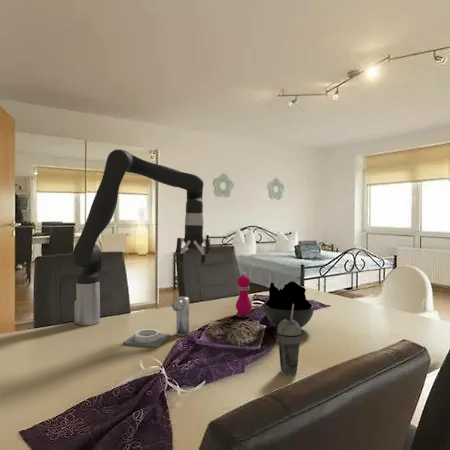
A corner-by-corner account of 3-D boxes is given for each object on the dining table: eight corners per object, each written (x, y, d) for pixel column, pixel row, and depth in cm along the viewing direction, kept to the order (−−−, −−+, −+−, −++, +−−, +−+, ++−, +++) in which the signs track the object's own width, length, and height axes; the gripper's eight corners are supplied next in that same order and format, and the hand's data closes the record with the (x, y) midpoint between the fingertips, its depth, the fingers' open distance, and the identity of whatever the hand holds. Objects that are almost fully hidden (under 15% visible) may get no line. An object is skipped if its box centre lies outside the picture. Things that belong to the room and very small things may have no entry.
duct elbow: (170, 339, 135) (170, 301, 135) (178, 331, 144) (178, 295, 143) (183, 340, 134) (183, 301, 134) (191, 332, 143) (191, 296, 142)
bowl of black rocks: (318, 325, 152) (318, 280, 151) (307, 340, 134) (308, 289, 133) (272, 319, 160) (272, 276, 160) (256, 333, 142) (256, 284, 141)
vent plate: (122, 344, 129) (122, 336, 129) (138, 333, 141) (138, 326, 141) (156, 347, 126) (156, 339, 126) (170, 336, 138) (170, 329, 138)
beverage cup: (273, 366, 111) (274, 301, 110) (297, 366, 111) (297, 300, 111) (279, 377, 103) (279, 307, 103) (304, 376, 104) (305, 306, 103)
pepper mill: (250, 318, 161) (250, 273, 161) (234, 317, 163) (234, 273, 162) (252, 314, 168) (252, 271, 168) (237, 313, 170) (237, 270, 169)
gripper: (174, 223, 150) (173, 263, 150) (207, 224, 147) (206, 265, 147) (181, 223, 157) (180, 261, 158) (212, 224, 154) (212, 263, 154)
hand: (193, 263), depth 152 cm, fingers open, 8 cm apart
